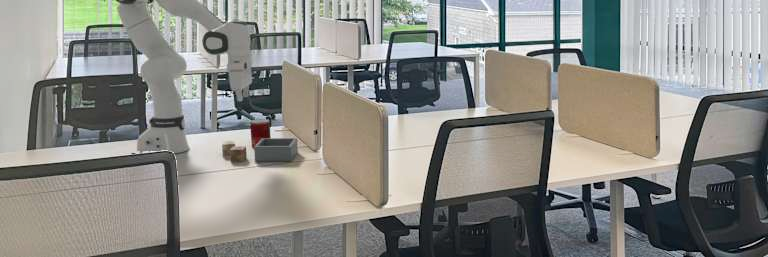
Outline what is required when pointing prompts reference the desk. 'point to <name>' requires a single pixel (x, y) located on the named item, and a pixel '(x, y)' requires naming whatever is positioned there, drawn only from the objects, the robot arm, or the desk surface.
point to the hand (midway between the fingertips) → (243, 99)
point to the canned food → (259, 130)
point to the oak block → (227, 147)
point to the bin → (276, 150)
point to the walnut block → (238, 154)
